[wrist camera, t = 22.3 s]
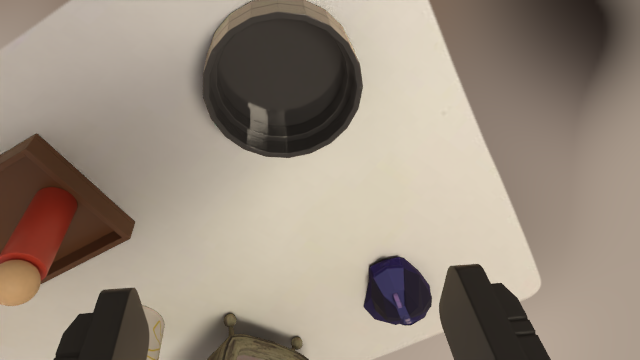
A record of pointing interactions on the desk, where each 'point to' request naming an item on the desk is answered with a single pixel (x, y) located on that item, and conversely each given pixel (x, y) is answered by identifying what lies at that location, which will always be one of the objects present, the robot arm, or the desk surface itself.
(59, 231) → the doll
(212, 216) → the desk surface
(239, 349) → the tabletop clock
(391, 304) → the computer mouse
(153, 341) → the white cylinder
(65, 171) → the tray
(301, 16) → the pan
